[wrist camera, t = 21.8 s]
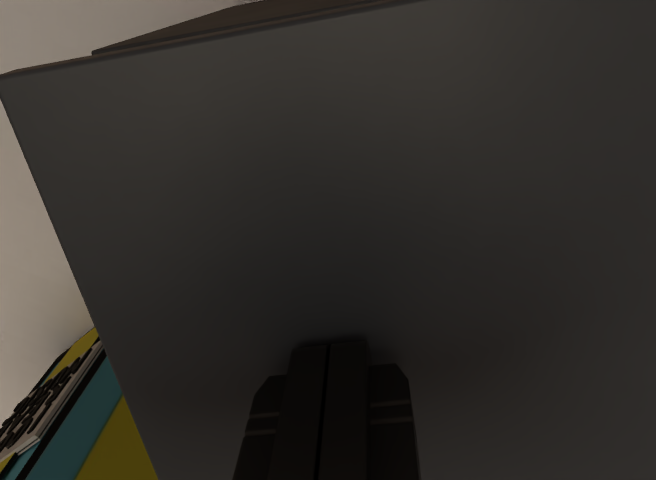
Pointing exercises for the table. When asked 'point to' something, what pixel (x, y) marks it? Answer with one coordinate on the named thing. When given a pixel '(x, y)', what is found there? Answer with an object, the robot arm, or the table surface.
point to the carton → (74, 424)
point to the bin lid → (372, 223)
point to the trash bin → (234, 20)
